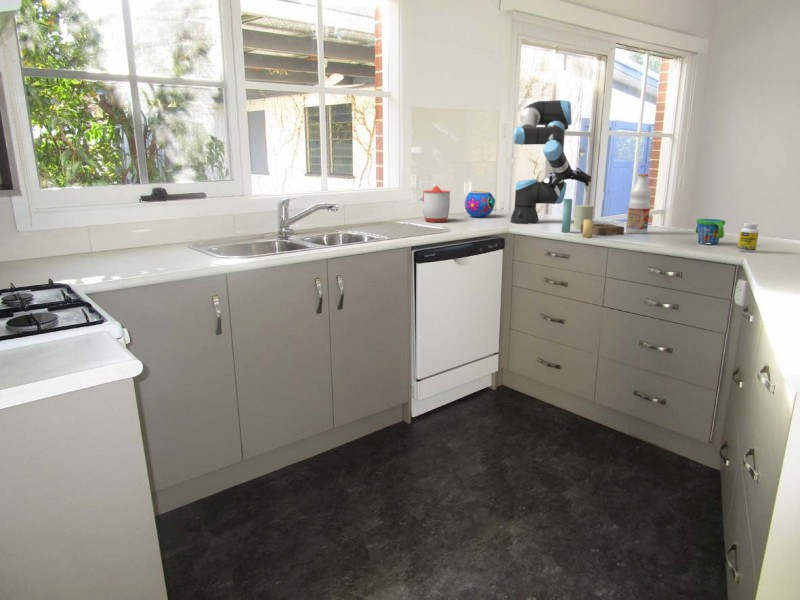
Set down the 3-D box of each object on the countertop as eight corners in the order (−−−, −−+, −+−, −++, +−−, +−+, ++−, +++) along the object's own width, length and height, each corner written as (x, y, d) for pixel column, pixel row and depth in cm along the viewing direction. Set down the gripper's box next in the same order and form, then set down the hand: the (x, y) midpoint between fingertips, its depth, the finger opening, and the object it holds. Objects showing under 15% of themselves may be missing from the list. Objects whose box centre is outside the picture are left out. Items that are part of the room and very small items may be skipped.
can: (588, 230, 281) (590, 206, 278) (570, 228, 286) (572, 205, 283) (594, 228, 288) (596, 204, 285) (577, 226, 293) (578, 203, 290)
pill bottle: (736, 251, 222) (741, 223, 219) (737, 249, 227) (742, 221, 224) (755, 253, 218) (759, 224, 216) (755, 250, 223) (760, 223, 221)
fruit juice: (624, 231, 277) (630, 173, 269) (644, 231, 275) (651, 173, 267) (627, 234, 268) (634, 174, 260) (648, 234, 266) (655, 174, 259)
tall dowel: (559, 231, 275) (562, 199, 271) (566, 231, 277) (569, 198, 272) (564, 232, 272) (566, 199, 268) (571, 232, 273) (574, 199, 269)
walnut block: (580, 231, 276) (581, 224, 275) (604, 230, 280) (605, 223, 279) (598, 235, 263) (599, 228, 262) (623, 234, 267) (624, 226, 266)
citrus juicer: (419, 219, 324) (419, 184, 319) (449, 219, 323) (449, 184, 318) (418, 223, 309) (419, 186, 304) (450, 223, 308) (451, 186, 303)
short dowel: (580, 236, 260) (581, 219, 258) (587, 236, 261) (589, 219, 259) (585, 238, 256) (587, 220, 254) (593, 237, 257) (594, 220, 255)
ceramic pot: (492, 219, 326) (493, 193, 322) (462, 218, 329) (463, 192, 326) (495, 215, 342) (496, 190, 338) (466, 215, 346) (466, 190, 342)
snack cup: (686, 240, 248) (689, 217, 245) (710, 240, 248) (713, 217, 245) (704, 246, 233) (708, 222, 230) (730, 246, 233) (733, 222, 230)
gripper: (533, 178, 258) (547, 202, 275) (588, 168, 245) (599, 193, 262) (534, 164, 261) (548, 189, 277) (589, 154, 248) (600, 180, 264)
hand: (573, 191), depth 270 cm, fingers open, 13 cm apart
